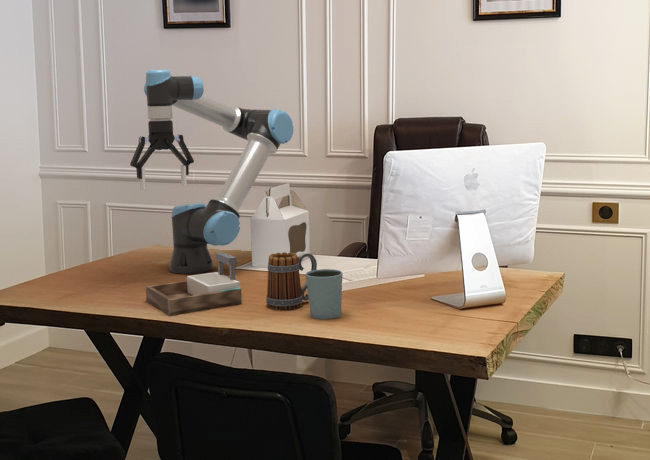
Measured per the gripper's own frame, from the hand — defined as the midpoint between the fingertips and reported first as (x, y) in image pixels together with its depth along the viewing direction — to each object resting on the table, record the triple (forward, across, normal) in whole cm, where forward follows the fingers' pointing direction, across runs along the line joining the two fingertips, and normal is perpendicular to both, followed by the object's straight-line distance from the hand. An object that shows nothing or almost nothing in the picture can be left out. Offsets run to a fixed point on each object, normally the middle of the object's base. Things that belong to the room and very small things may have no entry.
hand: (163, 187), depth 266 cm
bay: (+32, +2, +26) cm, 41 cm away
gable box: (+32, -47, -11) cm, 58 cm away
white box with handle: (+30, -5, +26) cm, 40 cm away
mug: (+32, -21, +45) cm, 59 cm away
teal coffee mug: (+32, -23, +60) cm, 72 cm away
